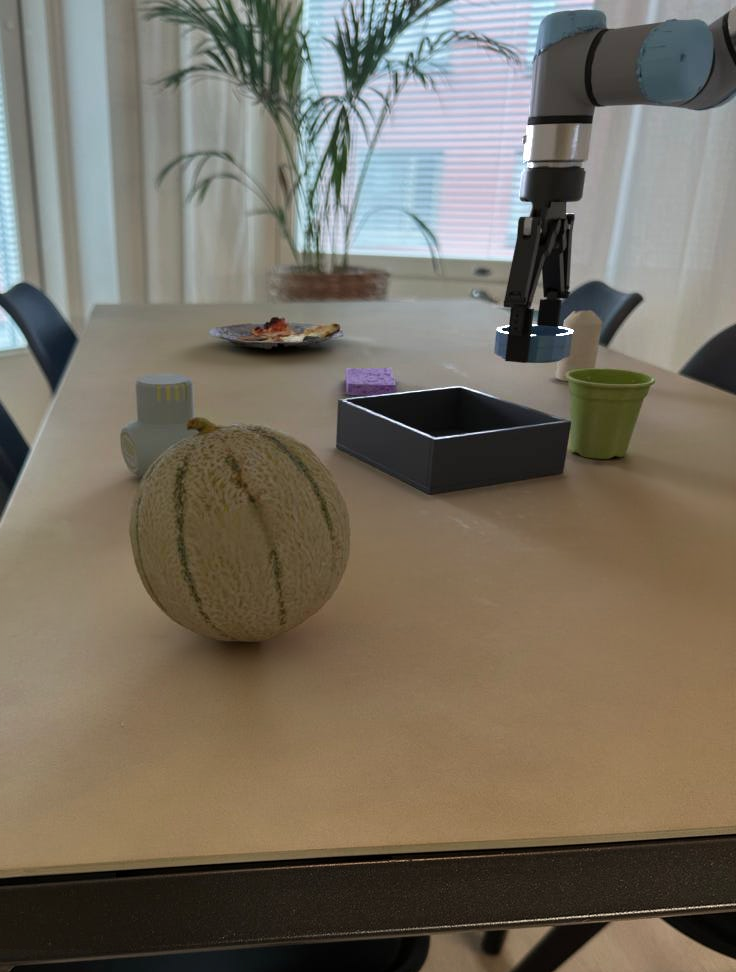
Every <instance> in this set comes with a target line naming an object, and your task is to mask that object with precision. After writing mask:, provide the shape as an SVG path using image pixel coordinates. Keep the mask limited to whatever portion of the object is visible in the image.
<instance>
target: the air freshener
mask: <svg viewBox="0 0 736 972" xmlns="http://www.w3.org/2000/svg"><path fill="white" fill-rule="evenodd" d="M134 383H135V400H136V401H135V402H136V403H135V404H136V405H135V406H136V419H133V420H132V421H130V422H128V423H127V424H126V425H124V427H122V429H121V431H120V434H119V435H120V436H119V440H120V441H119V443H120V449H121V455H122V457H123V460H124V463H125V465H126V467H127V468H128V471H130V472H131V473H132V474H134V475H136V476H138V477H140V478H141V479H142V478H143V476H144V475H145V473H146V472H147V470H148V468H149V467H150V466H151V465H152V463H153V462H154V461H155V460H156V459H157V458H158V457H159V456H160V455H161V454H162V453H163V452H164V451H166V450H167V449H168V448H169V447H171V446H173V445H174V444H176V443H178V442H179V441H181V440H183V439H185V438H187V437H190V436H192V435H194V434H196V433H198V431H197V430H187V423H188V421H189V420H190V419H191V418H195V403H194V380H193V379H191V378H190V377H189V375H184V374H180V373H179V374H177V373H154V374H147V375H143V376H140V377H139V378H138V379H136V380H135V382H134Z"/></svg>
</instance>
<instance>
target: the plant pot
mask: <svg viewBox="0 0 736 972" xmlns="http://www.w3.org/2000/svg"><path fill="white" fill-rule="evenodd" d="M566 379H567V380H569V381H568V392H569V393H570V421H571V428H570V434H569V450H570V452H571V453H573V454H575V453H577V454H579V455H580V456H581V457H584V458H586V459H599V460H610V459H612V458H614V457H617V458H622V457H624V456H626V454H627V452H628V448H629V445H630V442H631V439H632V436H633V433H634V429H635V427H636V424H637V422H638V419H639V415H640V412H641V409H642V406H643V403H644V399H645V398H647V396H648V394H649V391H650V388H651V386H653V385H654V384H655V383H656V378H655V376H653V375H652V374H648V373H645V372H640V371H635V370H634V371H633V370H628V369H622V368H621V369H620V368H608V367H607V368H603V367H602V368H599V367H598V368H597V367H595V368H591V369H579V370H573V371H570V372H567V373H566Z"/></svg>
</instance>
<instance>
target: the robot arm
mask: <svg viewBox="0 0 736 972" xmlns="http://www.w3.org/2000/svg"><path fill="white" fill-rule="evenodd" d="M531 64H532V71H531V72H532V73H531V87H530V98H529V99H530V100H529V106H528V117H527V122H526V123H527V124H526V125H527V126H526V132H525V133H526V134H524V135H523V136H522V138H521V143H522V144H523V145H524V150H523V163H525V164H527V168H523V171H521V173H520V175H521V176H520V184H519V193H518V199H519V200H520V202H523V203H531V207H530V211H529V214H528V216H519V218H518V221H517V232H516V240H515V246H514V250H513V256H512V260H511V265H510V271H509V276H508V279H507V286H506V291H505V296H504V300H503V308H508V309H509V308H510V313H509V323H508V326H509V330H508V339H507V348H506V357H505V359H504V362H511V363H521V364H528V363H527V362H528V354H529V346H530V338H531V330H532V325H533V321H534V312H535V308H533V307H532V305H533V302H534V301H533V300H534V298H535V294H536V290H537V288H538V284H539V280H540V277H541V276H542V292H543V293H542V294H543V298H540V299H539V304H538V312H537V313H538V314H537V321H536V325H546V326H556V327H559V324H560V317H561V309H562V301H563V300H568V299H570V297H571V291H569V290H570V288H571V287H570V283H571V281H570V280H571V267H572V266H571V265H572V263H571V262H572V247H573V246H572V245H573V231H574V224H575V220H576V216H575V215H576V214H575V213H574V212H573V213H572V212H570V213H567V203H574V202H580V201H581V200H582V198H583V196H584V195H583V194H584V187H585V181H586V172H587V171H586V170H585V167H583V163H586V162H587V161H588V160H589V154H590V146H591V139H592V131H593V121H594V115H595V110H596V108H602V107H603V108H604V107H614V106H616V107H617V106H639V105H640V106H641V105H643V106H653V107H654V106H655V107H669V108H670V107H671V108H672V107H673V108H679V109H686V110H692V111H697V112H698V111H700V112H701V111H707V110H711V109H716V108H719V107H722V106H724V105H726V104H728V103H730V102H731V101H732V100H734V98H736V5H735V6H734V7H732V8H731V9H730V10H729V11H727V12H726V13H725V14H723V15H722V16H720V17H718V18H717V19H716V20H714V21H713V22H711V23H710V24H708V23H706V22H705V21H704V20H701V19H699V18H691V19H677V18H672V19H671V18H669V19H666V20H665V21H661V22H660V21H659V22H654V23H652V22H651V23H646V24H639V25H632V26H631V25H630V26H626V27H624V26H623V27H618V28H608V26H607V15H606V14H605V12H604V11H601V10H599V9H598V10H597V9H588V8H587V9H586V8H585V9H575V10H573V9H572V10H560V11H556V12H552V13H549V14H547V15H546V16H545V17H543V19H542V20H541V21H540V23H539V26H538V29H537V38H536V43H535V49H534V55H533V57H532V63H531Z"/></svg>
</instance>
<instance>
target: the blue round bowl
mask: <svg viewBox="0 0 736 972" xmlns="http://www.w3.org/2000/svg"><path fill="white" fill-rule="evenodd" d="M508 330H509V325H505V326H501V327H500V326H499V327H497V328H496V330H495V341H494V348H493V349H494V351H493V354H495V355H496V356H498V357H500V358H501V359H503V360H505V357H506V348H507V339H508ZM572 338H573V330H570V329H568V328H563V326H558V327H556V326H546V325H537V324H532V330H531V338H530V346H529V354H528V362H527V363H526V364H548V363H556V362H557V363H558V361H560V360H562V359H563V358H567V357H569V356H570V352H571V345H572Z"/></svg>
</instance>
